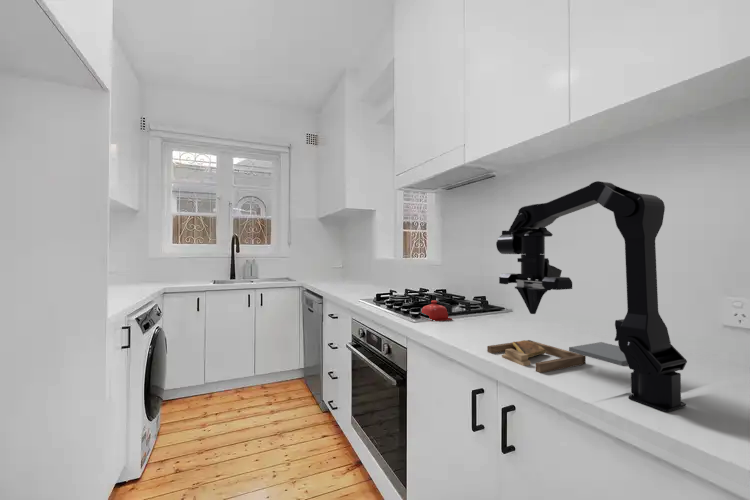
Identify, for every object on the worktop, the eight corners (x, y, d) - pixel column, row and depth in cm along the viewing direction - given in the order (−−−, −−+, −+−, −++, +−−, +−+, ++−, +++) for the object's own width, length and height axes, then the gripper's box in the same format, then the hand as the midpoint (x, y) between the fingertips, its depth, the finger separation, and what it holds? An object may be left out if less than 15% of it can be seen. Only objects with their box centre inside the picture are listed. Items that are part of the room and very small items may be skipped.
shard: (524, 360, 87) (525, 353, 87) (498, 349, 93) (499, 342, 93) (546, 354, 94) (547, 348, 94) (520, 344, 100) (521, 338, 100)
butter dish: (415, 319, 145) (415, 299, 145) (438, 317, 150) (438, 297, 150) (429, 324, 135) (429, 302, 135) (454, 322, 139) (454, 301, 139)
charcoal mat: (654, 358, 90) (654, 354, 91) (621, 365, 85) (621, 361, 85) (601, 345, 103) (601, 342, 103) (569, 350, 98) (569, 347, 98)
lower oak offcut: (530, 367, 85) (530, 361, 85) (523, 368, 84) (523, 362, 84) (508, 359, 92) (508, 353, 92) (501, 360, 91) (501, 354, 91)
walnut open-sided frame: (585, 363, 86) (585, 355, 86) (540, 372, 80) (540, 364, 80) (529, 346, 102) (529, 340, 102) (487, 353, 95) (487, 346, 95)
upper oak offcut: (527, 360, 85) (527, 354, 85) (521, 361, 85) (521, 355, 85) (511, 354, 91) (511, 348, 91) (505, 354, 91) (505, 349, 91)
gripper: (587, 254, 86) (587, 317, 86) (526, 254, 103) (526, 306, 103) (555, 254, 81) (556, 321, 81) (497, 254, 98) (497, 309, 98)
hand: (532, 313), depth 91 cm, fingers closed
